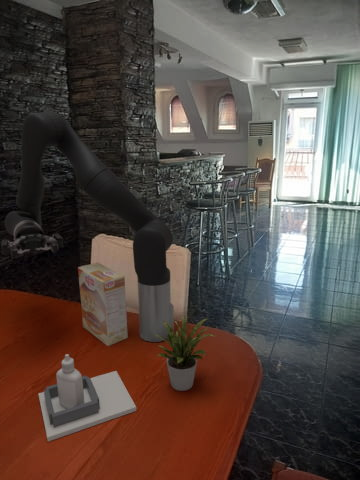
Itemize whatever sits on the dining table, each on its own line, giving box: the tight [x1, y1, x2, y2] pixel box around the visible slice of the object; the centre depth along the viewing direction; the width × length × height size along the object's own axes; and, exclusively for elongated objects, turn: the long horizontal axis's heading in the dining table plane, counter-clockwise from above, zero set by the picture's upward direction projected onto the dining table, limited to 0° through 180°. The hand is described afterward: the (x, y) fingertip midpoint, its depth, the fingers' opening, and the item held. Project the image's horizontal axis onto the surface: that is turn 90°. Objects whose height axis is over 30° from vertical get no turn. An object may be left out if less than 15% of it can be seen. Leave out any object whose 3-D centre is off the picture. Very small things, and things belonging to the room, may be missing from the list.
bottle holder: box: [38, 370, 137, 442], centre depth 80 cm, size 18×14×4 cm
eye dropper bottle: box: [56, 353, 84, 409], centre depth 78 cm, size 4×6×12 cm
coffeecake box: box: [77, 262, 129, 347], centre depth 107 cm, size 15×7×20 cm, turn 41°
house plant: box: [155, 313, 216, 392], centre depth 85 cm, size 14×14×16 cm
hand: (35, 251), depth 88 cm, fingers open, 8 cm apart
